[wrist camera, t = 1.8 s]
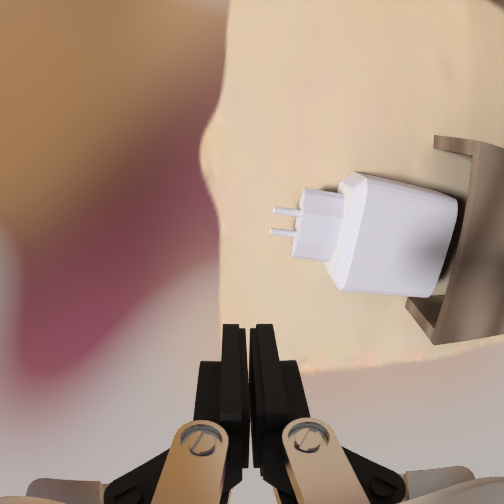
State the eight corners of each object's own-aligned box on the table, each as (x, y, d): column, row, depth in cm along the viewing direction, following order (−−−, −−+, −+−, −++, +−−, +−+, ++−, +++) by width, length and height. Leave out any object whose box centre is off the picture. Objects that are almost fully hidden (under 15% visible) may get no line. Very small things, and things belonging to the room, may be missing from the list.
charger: (277, 158, 25) (433, 189, 26) (261, 262, 28) (408, 278, 29) (283, 164, 21) (461, 201, 22) (264, 287, 24) (430, 301, 25)
